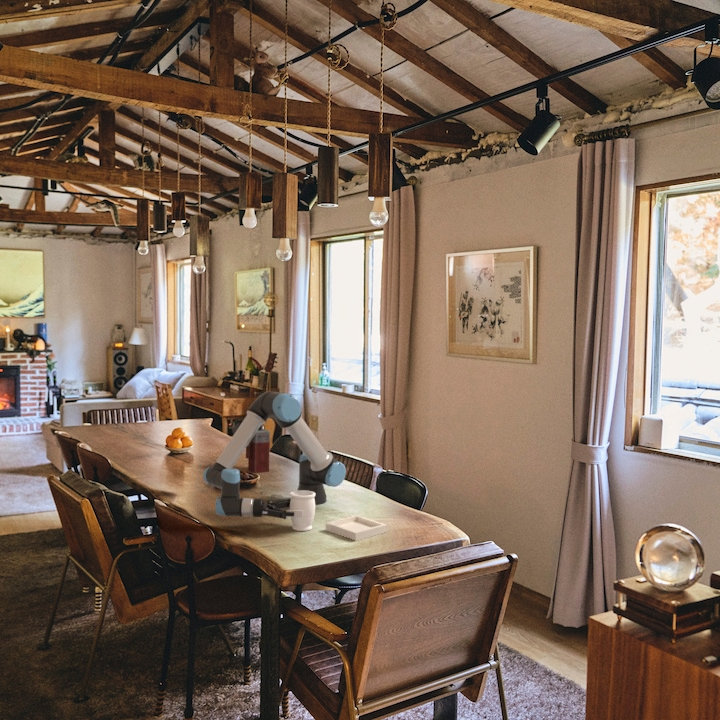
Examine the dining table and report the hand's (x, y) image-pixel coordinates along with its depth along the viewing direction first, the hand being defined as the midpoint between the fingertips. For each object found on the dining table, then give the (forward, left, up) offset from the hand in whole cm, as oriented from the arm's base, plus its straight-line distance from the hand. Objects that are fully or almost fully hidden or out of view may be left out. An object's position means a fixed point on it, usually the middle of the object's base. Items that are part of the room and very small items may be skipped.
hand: (304, 509), depth 293 cm
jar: (0, -1, -8) cm, 8 cm away
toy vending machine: (-48, -99, -8) cm, 110 cm away
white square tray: (-15, +16, -8) cm, 23 cm away
